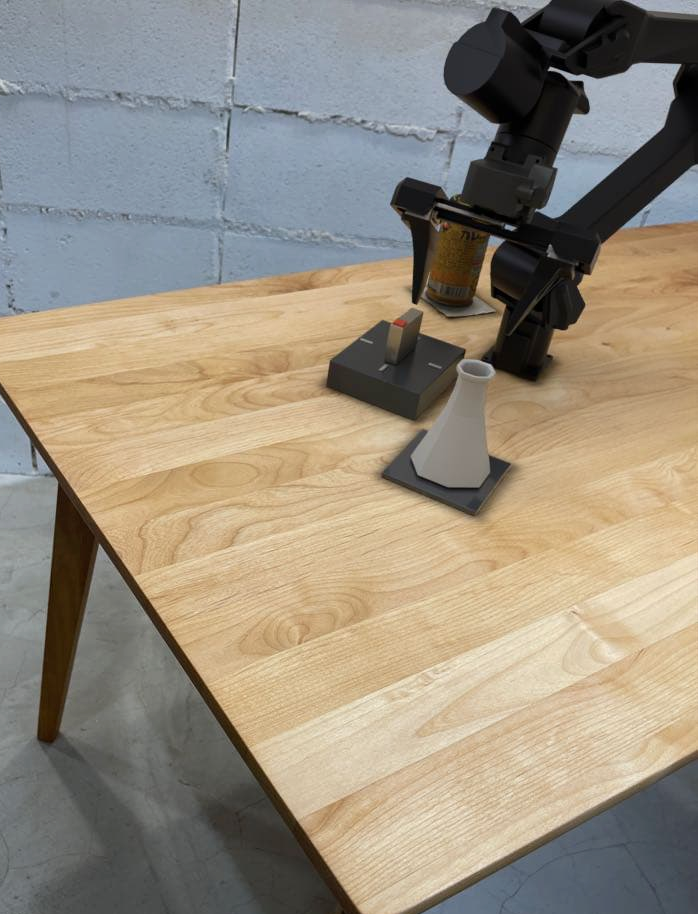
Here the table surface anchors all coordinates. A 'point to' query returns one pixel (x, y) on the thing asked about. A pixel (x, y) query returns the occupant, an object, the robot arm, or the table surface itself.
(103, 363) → the table surface
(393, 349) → the knob
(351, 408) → the table surface
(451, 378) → the panel
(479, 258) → the condiment
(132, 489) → the table surface
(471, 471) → the flask
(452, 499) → the coaster
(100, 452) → the table surface
